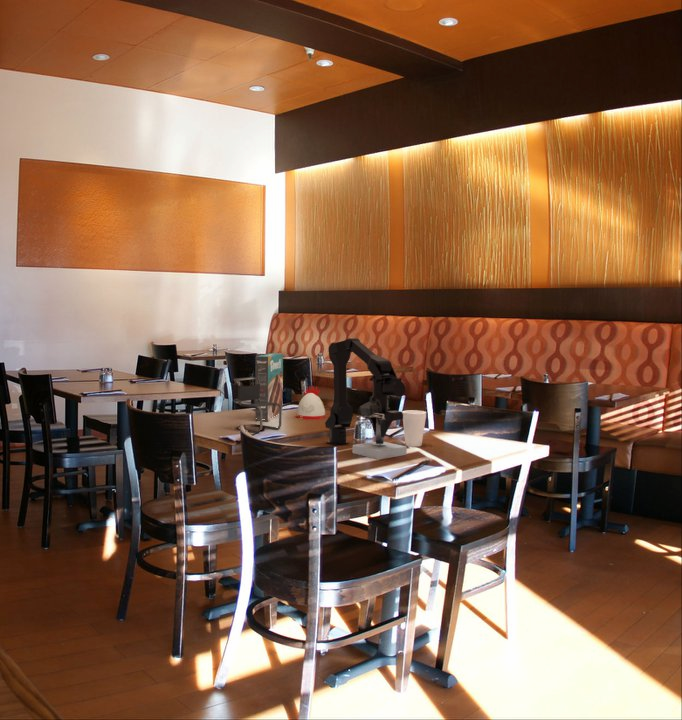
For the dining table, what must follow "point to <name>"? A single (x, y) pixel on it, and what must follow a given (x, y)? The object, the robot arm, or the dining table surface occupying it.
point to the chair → (251, 394)
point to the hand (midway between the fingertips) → (379, 436)
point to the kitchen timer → (311, 405)
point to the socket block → (379, 450)
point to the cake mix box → (269, 384)
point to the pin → (379, 432)
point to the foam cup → (413, 427)
